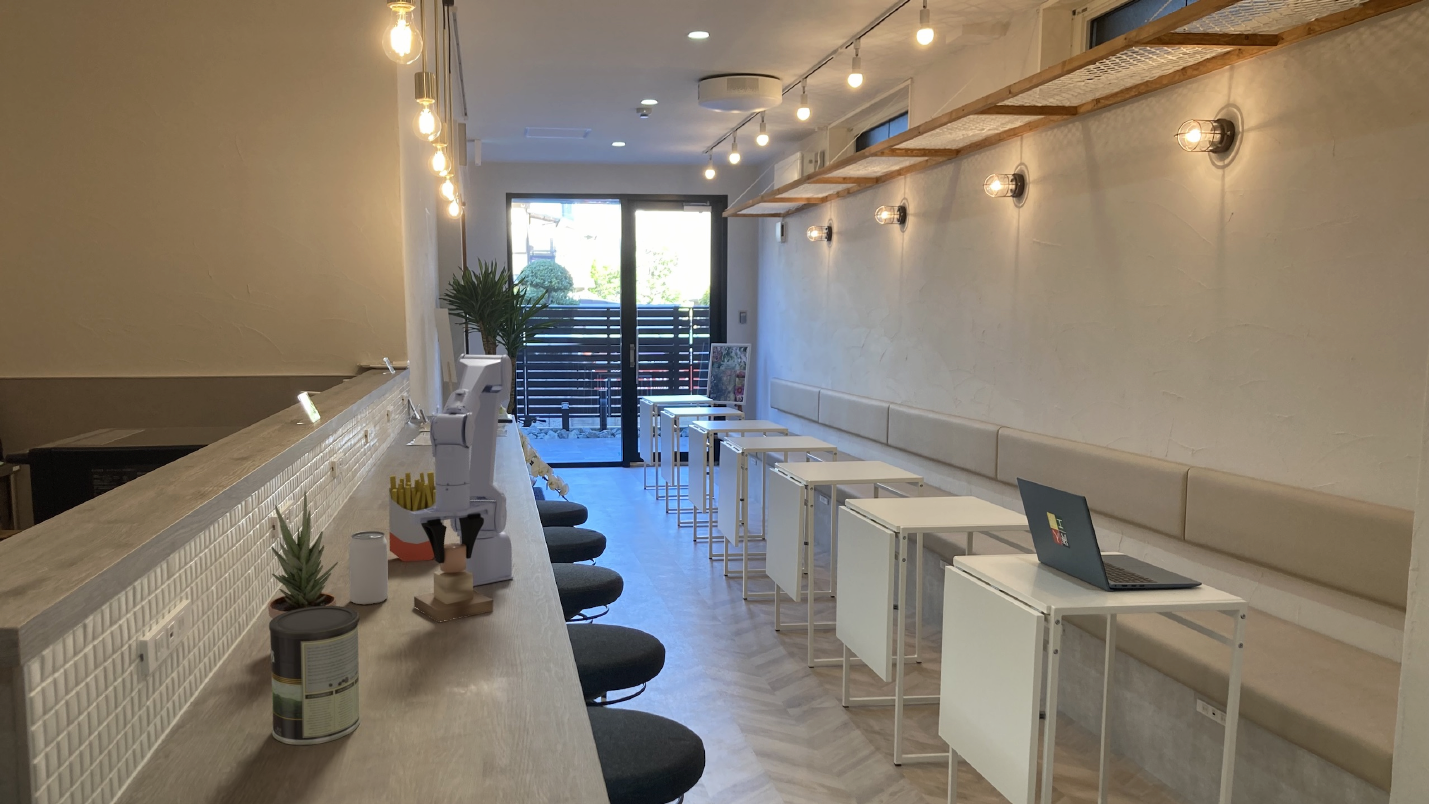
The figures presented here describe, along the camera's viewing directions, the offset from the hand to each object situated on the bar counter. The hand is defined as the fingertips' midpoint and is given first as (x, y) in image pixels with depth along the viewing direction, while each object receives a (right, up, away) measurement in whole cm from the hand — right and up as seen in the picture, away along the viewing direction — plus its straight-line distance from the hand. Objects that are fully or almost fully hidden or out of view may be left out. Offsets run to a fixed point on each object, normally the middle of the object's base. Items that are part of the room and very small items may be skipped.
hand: (453, 559), depth 165 cm
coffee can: (-4, -14, -46) cm, 48 cm away
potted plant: (-18, -11, -18) cm, 28 cm away
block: (0, -7, +1) cm, 7 cm away
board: (0, -9, +1) cm, 9 cm away
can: (-17, -8, +5) cm, 19 cm away
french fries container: (-17, -6, +34) cm, 38 cm away
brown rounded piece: (0, -2, 0) cm, 2 cm away
